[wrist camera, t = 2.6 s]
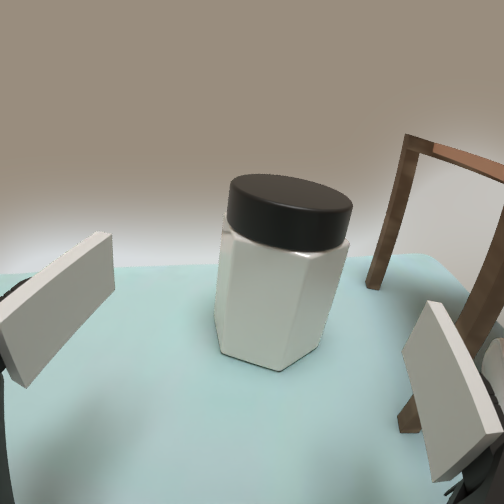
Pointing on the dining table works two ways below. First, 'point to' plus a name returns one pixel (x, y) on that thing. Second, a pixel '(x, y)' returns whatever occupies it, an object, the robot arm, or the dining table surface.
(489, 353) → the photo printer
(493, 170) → the trapdoor
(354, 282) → the dining table surface
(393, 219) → the trapdoor frame
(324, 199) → the jar
